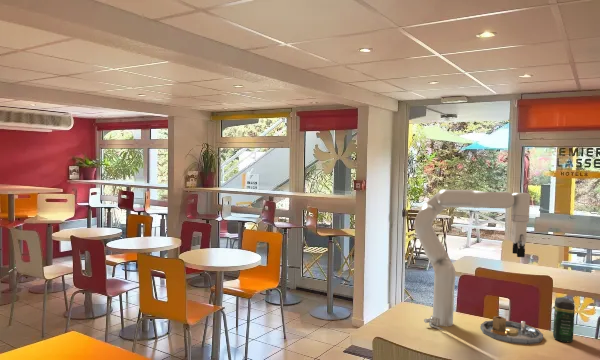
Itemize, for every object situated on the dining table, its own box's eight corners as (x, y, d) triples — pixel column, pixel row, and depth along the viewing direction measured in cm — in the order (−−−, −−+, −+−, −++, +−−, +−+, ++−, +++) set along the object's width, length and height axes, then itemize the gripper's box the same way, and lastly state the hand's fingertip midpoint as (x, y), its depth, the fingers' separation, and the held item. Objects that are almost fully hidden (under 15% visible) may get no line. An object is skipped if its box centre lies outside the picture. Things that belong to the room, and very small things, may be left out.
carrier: (510, 350, 197) (511, 335, 197) (469, 330, 221) (470, 316, 221) (554, 344, 206) (555, 329, 206) (510, 325, 230) (511, 312, 230)
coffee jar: (574, 344, 207) (576, 303, 207) (554, 341, 210) (556, 300, 210) (570, 337, 216) (572, 297, 216) (551, 334, 219) (553, 295, 219)
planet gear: (498, 338, 207) (499, 320, 207) (487, 333, 213) (488, 315, 213) (510, 336, 209) (511, 319, 209) (498, 331, 216) (499, 314, 215)
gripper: (507, 216, 226) (506, 251, 226) (515, 220, 209) (513, 257, 210) (524, 217, 224) (522, 252, 225) (533, 221, 207) (531, 259, 208)
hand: (518, 255), depth 217 cm, fingers open, 9 cm apart
